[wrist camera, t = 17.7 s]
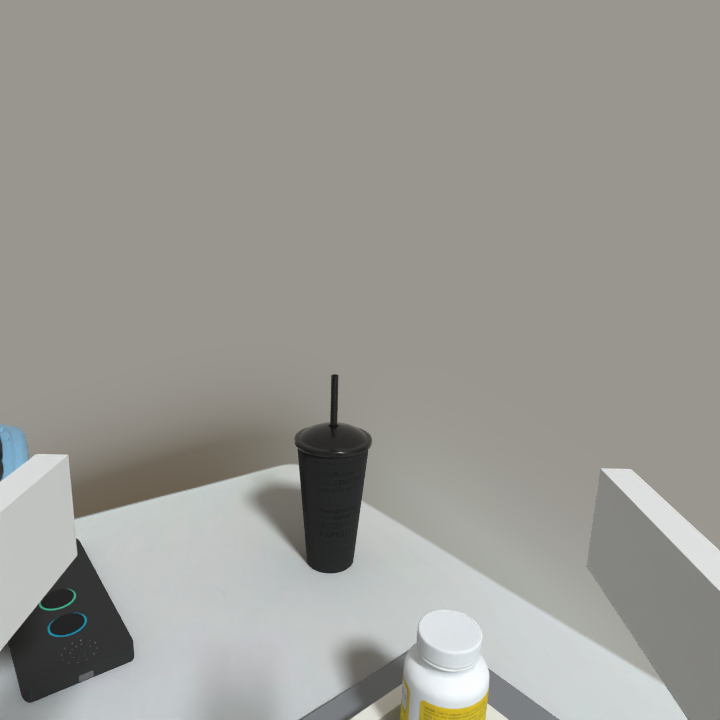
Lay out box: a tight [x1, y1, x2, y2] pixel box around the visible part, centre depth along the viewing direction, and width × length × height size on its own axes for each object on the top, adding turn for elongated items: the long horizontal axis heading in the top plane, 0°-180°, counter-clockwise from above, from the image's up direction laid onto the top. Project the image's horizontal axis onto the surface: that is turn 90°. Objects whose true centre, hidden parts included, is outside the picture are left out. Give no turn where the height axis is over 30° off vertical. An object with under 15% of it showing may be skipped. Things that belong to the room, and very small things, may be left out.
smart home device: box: [8, 539, 134, 703], centre depth 52 cm, size 8×2×20 cm
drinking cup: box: [295, 374, 372, 573], centre depth 59 cm, size 8×8×20 cm
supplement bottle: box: [400, 609, 489, 720], centre depth 38 cm, size 5×5×10 cm
